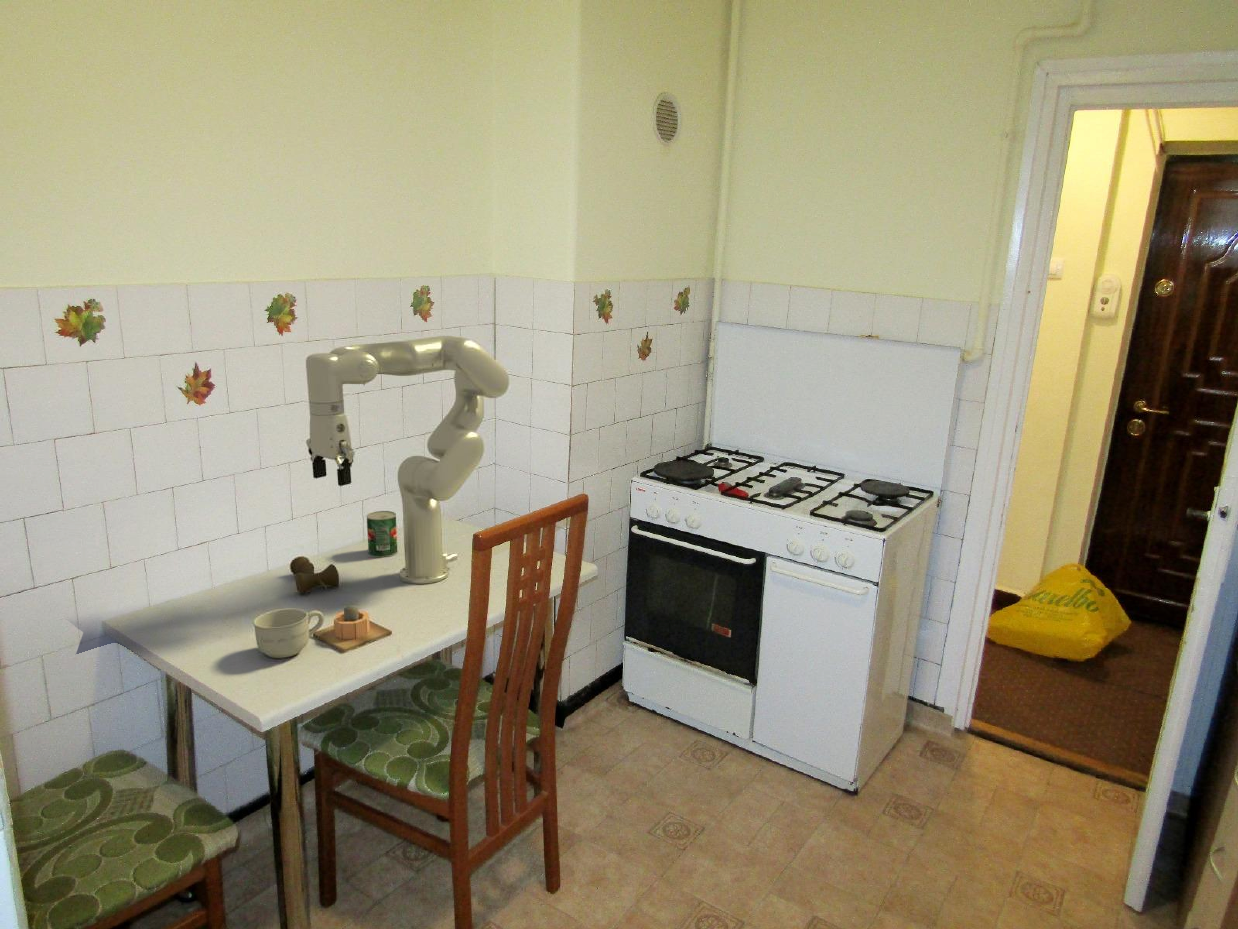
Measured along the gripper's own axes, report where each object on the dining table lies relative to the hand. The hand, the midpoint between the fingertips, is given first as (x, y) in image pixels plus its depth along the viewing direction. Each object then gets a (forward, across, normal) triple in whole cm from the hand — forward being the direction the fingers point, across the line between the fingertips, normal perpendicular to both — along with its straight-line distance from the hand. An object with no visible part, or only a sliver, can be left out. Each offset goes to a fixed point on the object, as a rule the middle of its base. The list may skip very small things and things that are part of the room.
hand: (332, 480), depth 205 cm
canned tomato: (+31, +20, -27) cm, 46 cm away
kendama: (+31, +14, -1) cm, 33 cm away
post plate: (+30, -18, +10) cm, 36 cm away
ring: (+29, -18, +10) cm, 36 cm away
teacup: (+30, -15, +22) cm, 40 cm away
